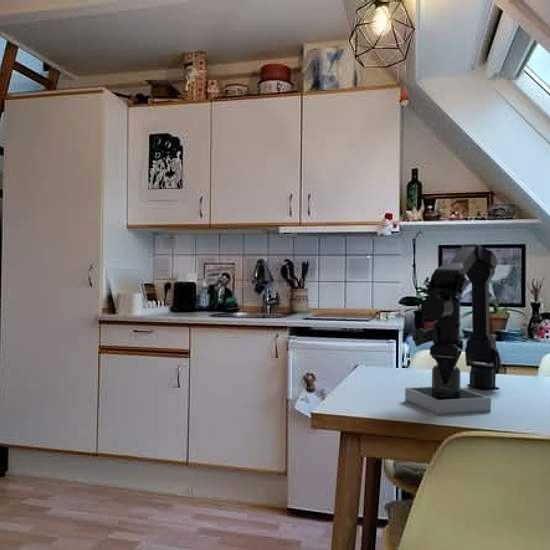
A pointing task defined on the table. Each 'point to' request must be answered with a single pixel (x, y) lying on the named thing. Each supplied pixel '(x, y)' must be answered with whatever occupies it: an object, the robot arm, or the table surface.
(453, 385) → the supplement bottle
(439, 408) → the tub
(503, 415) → the table surface
